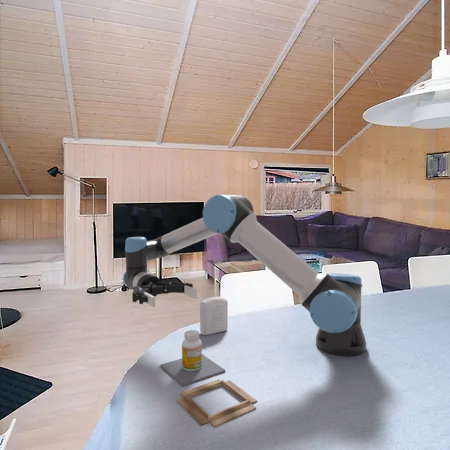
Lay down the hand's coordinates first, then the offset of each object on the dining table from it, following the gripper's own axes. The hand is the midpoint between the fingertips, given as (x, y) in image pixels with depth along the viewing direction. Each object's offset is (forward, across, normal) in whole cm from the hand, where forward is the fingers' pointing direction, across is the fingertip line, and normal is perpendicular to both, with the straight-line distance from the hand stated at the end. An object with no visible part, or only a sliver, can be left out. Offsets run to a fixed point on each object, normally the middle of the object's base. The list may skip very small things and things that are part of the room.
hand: (175, 297), depth 102 cm
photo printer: (-11, -20, -18) cm, 29 cm away
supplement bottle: (+9, 0, -18) cm, 20 cm away
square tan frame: (+26, +3, -18) cm, 32 cm away
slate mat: (+9, 0, -18) cm, 20 cm away
